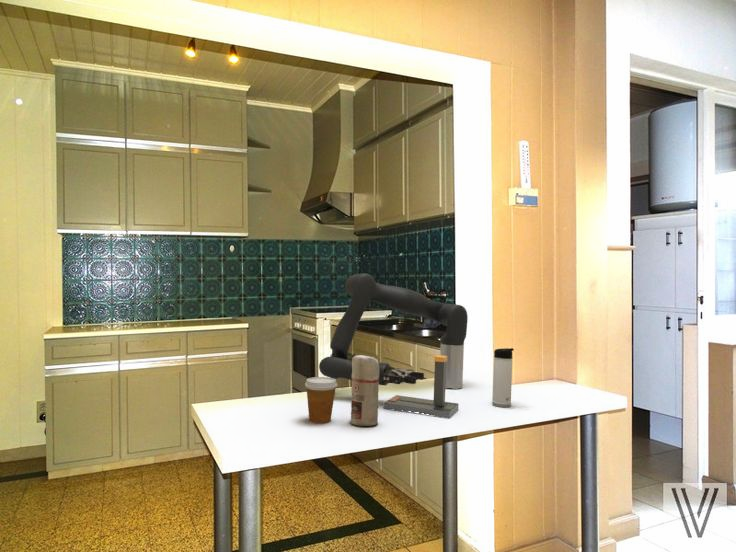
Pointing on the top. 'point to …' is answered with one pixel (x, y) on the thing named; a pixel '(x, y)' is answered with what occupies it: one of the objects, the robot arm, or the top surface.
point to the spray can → (364, 391)
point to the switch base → (421, 406)
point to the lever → (440, 380)
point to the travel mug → (502, 377)
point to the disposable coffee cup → (320, 398)
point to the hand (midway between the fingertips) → (419, 378)
